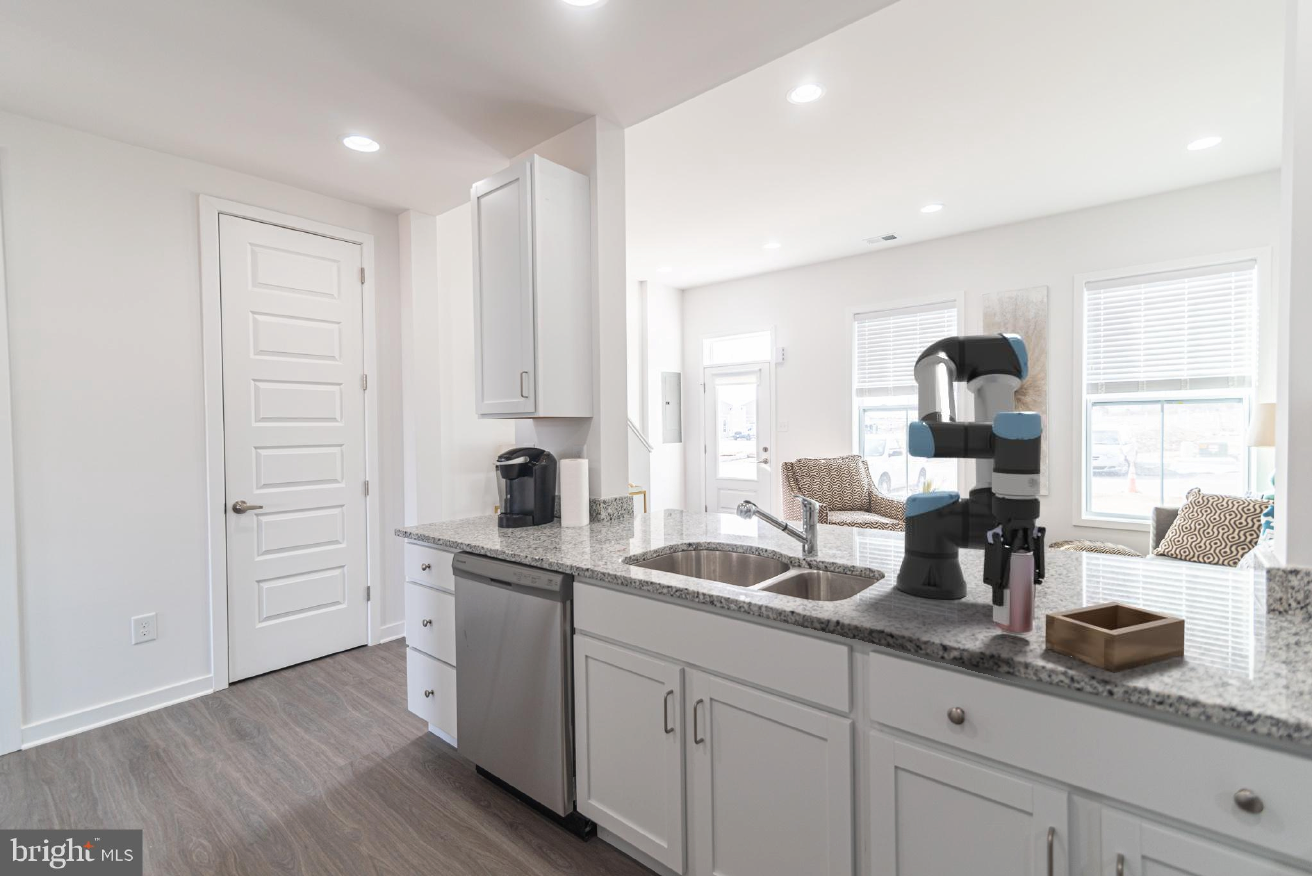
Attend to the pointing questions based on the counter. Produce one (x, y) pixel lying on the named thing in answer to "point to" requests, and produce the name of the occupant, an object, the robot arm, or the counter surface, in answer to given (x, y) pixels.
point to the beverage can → (1020, 594)
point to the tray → (1115, 635)
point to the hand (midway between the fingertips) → (1013, 619)
